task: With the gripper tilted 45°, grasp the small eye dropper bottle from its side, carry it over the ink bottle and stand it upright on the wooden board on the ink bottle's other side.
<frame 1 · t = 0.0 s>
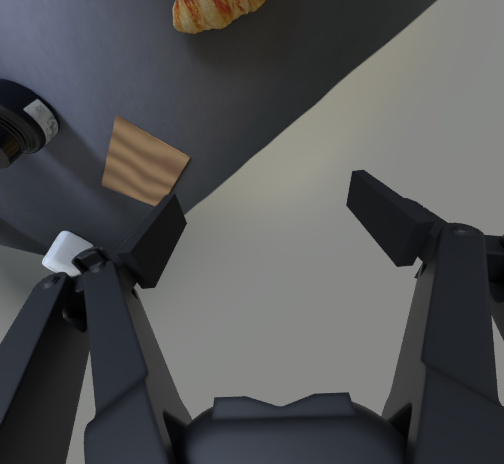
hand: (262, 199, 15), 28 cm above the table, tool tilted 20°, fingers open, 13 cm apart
photo printer: (78, 238, 66), on the table
ink bottle: (29, 108, 34), on the table
wooden board: (143, 171, 45), on the table
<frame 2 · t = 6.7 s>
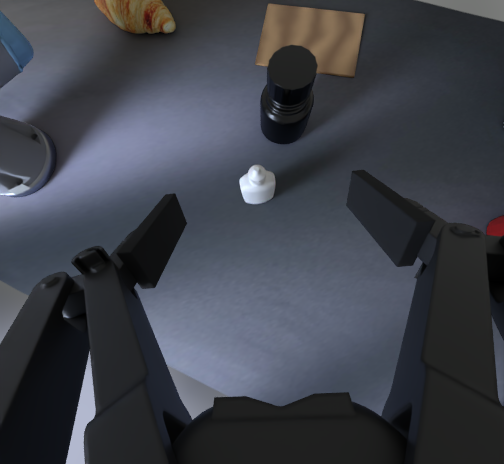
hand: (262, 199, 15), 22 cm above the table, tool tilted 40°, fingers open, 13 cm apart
plastic cup: (502, 234, 34), on the table
ink bottle: (282, 125, 38), on the table
croissant: (137, 20, 43), on the table
eye dropper bottle: (258, 195, 37), on the table
wooden board: (309, 40, 40), on the table
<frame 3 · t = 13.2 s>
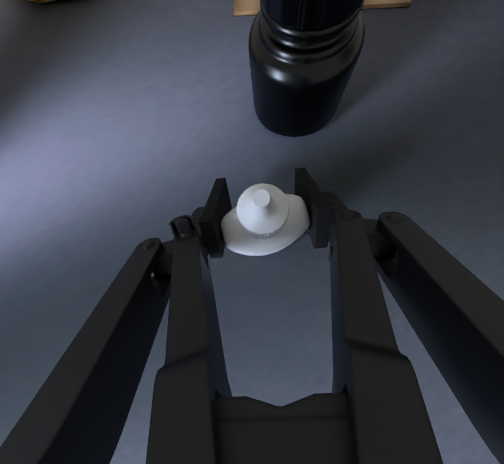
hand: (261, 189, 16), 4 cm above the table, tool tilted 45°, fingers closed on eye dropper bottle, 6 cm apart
ink bottle: (294, 104, 21), on the table
eye dropper bottle: (266, 237, 19), on the table, touching gripper
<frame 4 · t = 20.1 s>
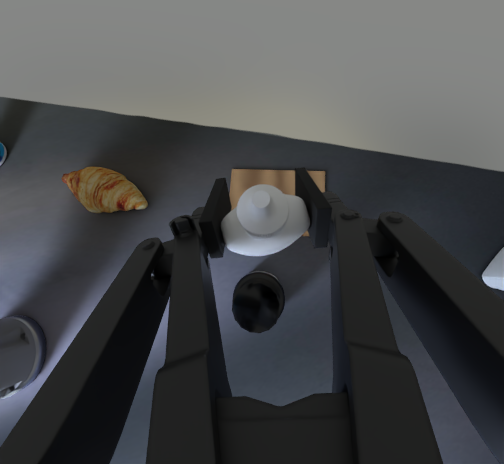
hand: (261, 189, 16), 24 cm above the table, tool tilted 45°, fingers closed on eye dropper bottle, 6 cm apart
photo printer: (501, 264, 35), on the table
ink bottle: (260, 292, 39), on the table
croissant: (112, 195, 45), on the table
eye dropper bottle: (266, 237, 19), point 21 cm above the table, touching gripper
wooden board: (275, 201, 41), on the table
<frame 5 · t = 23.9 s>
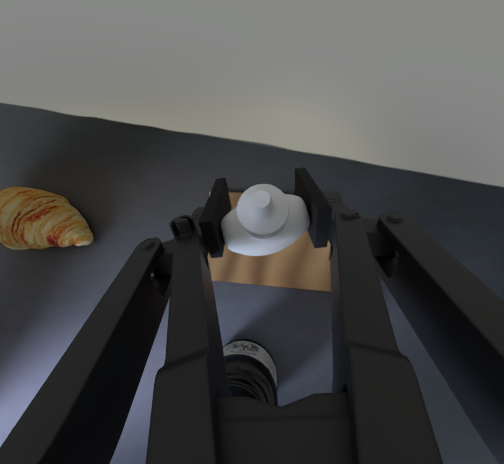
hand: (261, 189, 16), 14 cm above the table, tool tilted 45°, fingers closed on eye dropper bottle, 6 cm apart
ink bottle: (244, 370, 27), on the table
croissant: (51, 223, 34), on the table
eye dropper bottle: (266, 237, 19), point 10 cm above the table, touching gripper
wooden board: (268, 238, 30), on the table
when the fingers open (4 cm above the table, at t = 26.9 s): eye dropper bottle stays where it is, resting on wooden board.
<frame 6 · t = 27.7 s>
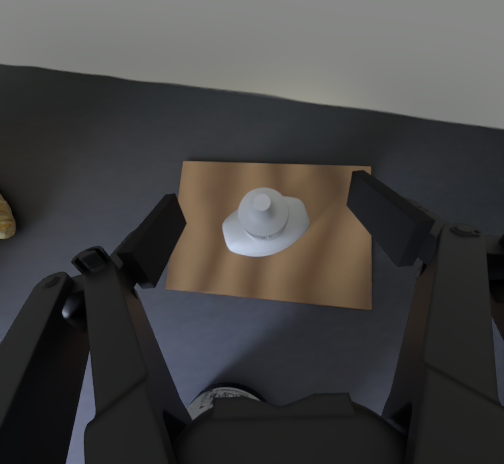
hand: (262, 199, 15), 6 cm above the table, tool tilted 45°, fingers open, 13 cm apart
ink bottle: (231, 430, 18), on the table
eye dropper bottle: (267, 238, 20), resting on wooden board
wooden board: (267, 228, 20), on the table
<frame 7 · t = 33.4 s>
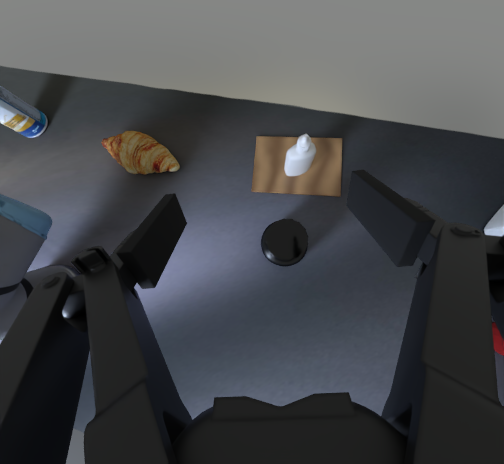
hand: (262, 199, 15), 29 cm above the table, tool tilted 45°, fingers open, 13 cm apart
photo printer: (501, 219, 39), on the table
plastic cup: (501, 338, 36), on the table
ink bottle: (282, 245, 43), on the table
croissant: (146, 160, 49), on the table
eye dropper bottle: (296, 169, 45), resting on wooden board
wooden board: (296, 165, 45), on the table
beverage bottle: (36, 126, 55), on the table
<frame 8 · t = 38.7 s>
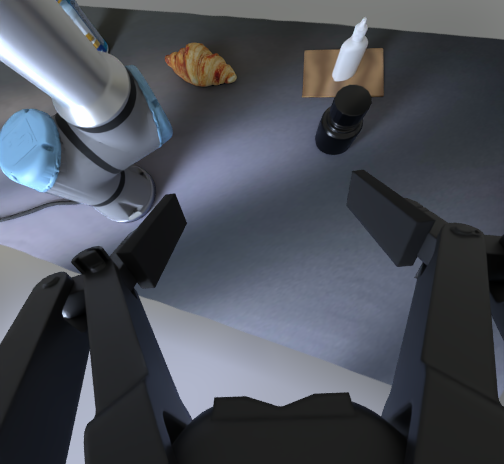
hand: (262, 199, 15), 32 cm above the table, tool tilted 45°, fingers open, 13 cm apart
ink bottle: (332, 140, 48), on the table
croissant: (203, 76, 55), on the table
eye dropper bottle: (342, 76, 50), resting on wooden board
wooden board: (342, 73, 51), on the table
beverage bottle: (98, 53, 60), on the table
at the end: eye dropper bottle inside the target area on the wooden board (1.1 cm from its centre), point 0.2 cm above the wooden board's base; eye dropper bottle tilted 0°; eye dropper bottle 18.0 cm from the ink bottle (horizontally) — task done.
